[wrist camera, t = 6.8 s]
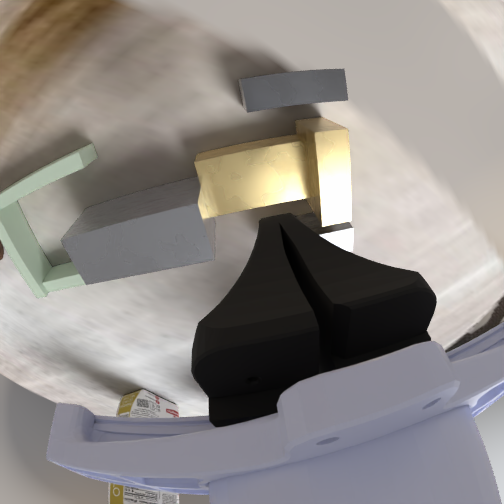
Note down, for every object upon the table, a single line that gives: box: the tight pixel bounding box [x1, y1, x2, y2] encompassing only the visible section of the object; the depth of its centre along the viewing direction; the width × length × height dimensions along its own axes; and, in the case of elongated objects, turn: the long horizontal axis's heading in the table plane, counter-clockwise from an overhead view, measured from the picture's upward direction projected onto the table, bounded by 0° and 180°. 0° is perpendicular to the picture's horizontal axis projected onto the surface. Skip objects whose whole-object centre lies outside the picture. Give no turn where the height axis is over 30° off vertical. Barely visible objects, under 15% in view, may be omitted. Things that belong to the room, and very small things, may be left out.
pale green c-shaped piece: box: [0, 143, 98, 298], centre depth 19 cm, size 10×12×3 cm
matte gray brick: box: [61, 176, 216, 285], centre depth 19 cm, size 4×10×5 cm, turn 100°
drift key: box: [194, 117, 351, 226], centre depth 17 cm, size 6×9×4 cm, turn 100°
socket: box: [238, 69, 353, 251], centre depth 18 cm, size 13×6×3 cm, turn 10°
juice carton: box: [108, 389, 179, 504], centre depth 29 cm, size 9×8×24 cm
